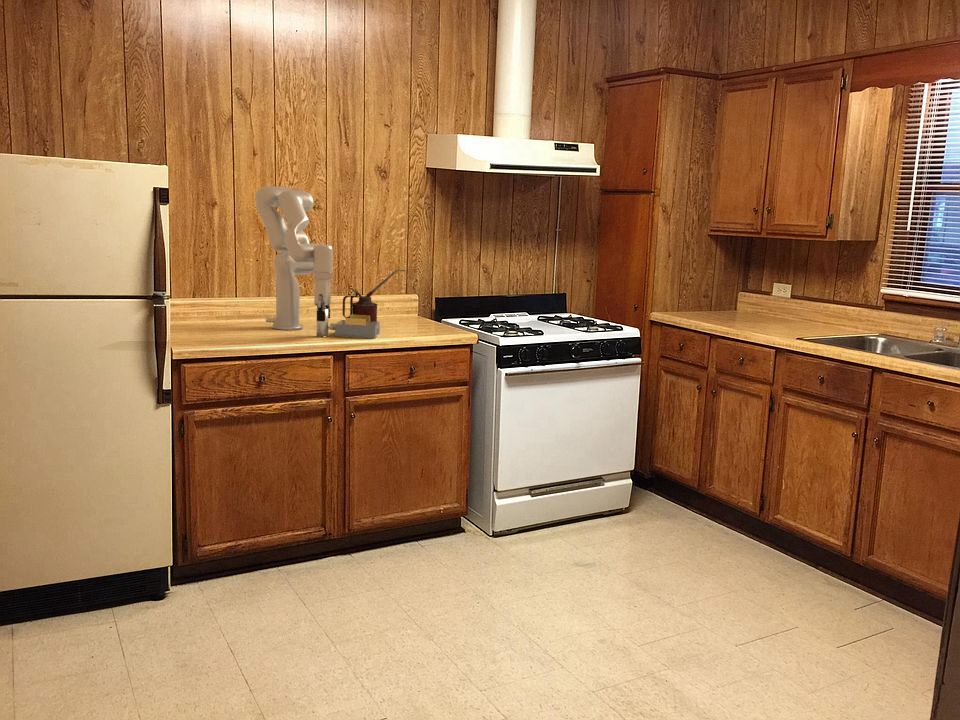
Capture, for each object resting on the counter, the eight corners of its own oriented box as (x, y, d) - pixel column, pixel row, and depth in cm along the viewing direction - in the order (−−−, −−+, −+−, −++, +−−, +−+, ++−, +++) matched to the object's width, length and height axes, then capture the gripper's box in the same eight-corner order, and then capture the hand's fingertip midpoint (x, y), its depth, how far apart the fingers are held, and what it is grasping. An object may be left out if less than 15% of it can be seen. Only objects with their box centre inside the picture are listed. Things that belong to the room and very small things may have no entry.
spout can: (315, 336, 332) (315, 306, 330) (317, 335, 337) (318, 305, 335) (326, 337, 332) (327, 307, 330) (329, 335, 337) (329, 305, 335)
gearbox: (327, 336, 335) (327, 317, 333) (333, 331, 348) (334, 313, 346) (375, 338, 335) (375, 319, 333) (379, 333, 347) (379, 315, 346)
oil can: (347, 329, 355) (348, 270, 351) (339, 325, 365) (340, 268, 361) (408, 327, 368) (410, 270, 364) (399, 324, 378) (401, 268, 373)
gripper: (318, 274, 338) (318, 317, 341) (308, 277, 321) (309, 322, 324) (336, 275, 338) (337, 317, 341) (328, 278, 321) (328, 322, 324)
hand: (323, 319), depth 333 cm, fingers open, 9 cm apart
